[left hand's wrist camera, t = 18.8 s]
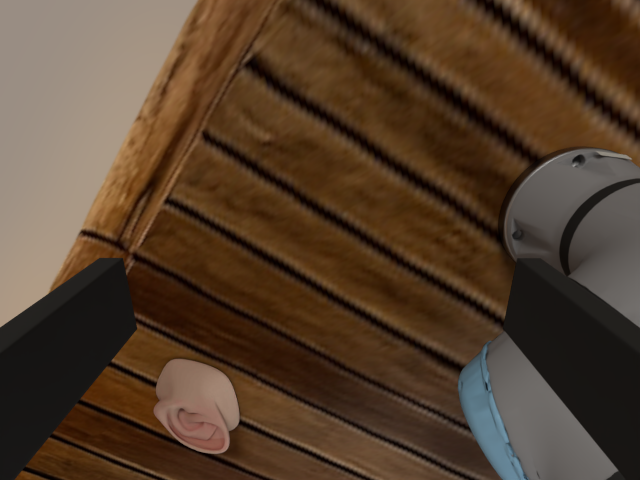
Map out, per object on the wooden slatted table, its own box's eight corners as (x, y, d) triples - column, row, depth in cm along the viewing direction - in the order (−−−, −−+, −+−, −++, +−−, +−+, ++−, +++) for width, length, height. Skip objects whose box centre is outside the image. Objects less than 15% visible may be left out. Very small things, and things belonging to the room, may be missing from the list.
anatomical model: (138, 377, 46) (231, 381, 46) (152, 356, 49) (237, 360, 49) (150, 456, 50) (234, 459, 50) (161, 431, 54) (240, 434, 54)
